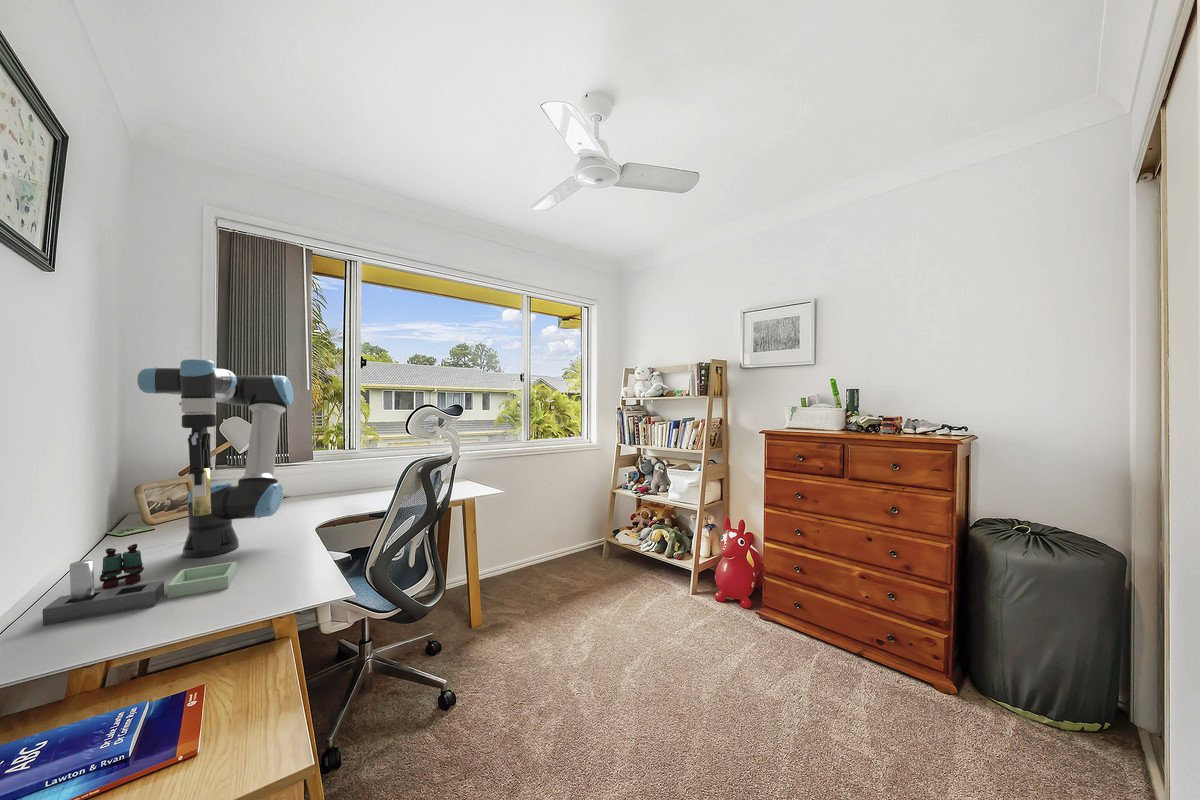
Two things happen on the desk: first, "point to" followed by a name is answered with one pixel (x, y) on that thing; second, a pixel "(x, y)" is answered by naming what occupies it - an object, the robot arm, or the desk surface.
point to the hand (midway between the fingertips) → (201, 494)
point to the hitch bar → (104, 603)
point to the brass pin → (203, 498)
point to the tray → (202, 579)
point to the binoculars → (121, 567)
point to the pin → (82, 580)
